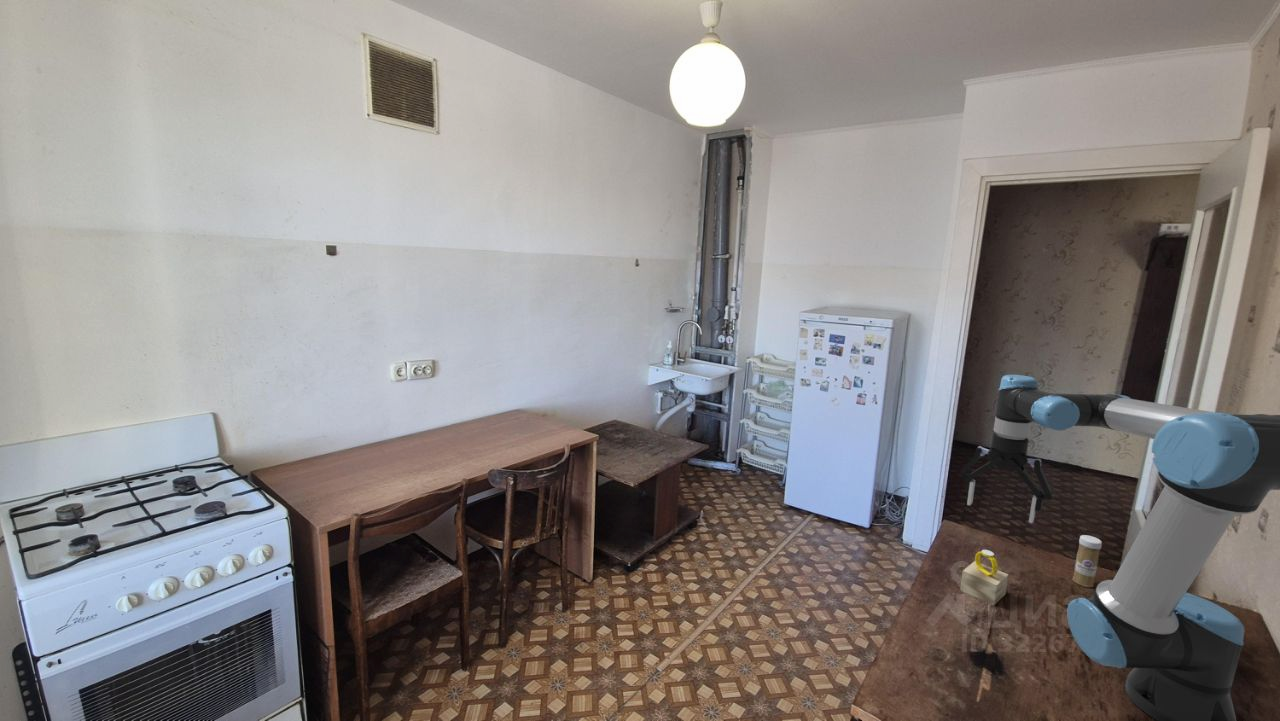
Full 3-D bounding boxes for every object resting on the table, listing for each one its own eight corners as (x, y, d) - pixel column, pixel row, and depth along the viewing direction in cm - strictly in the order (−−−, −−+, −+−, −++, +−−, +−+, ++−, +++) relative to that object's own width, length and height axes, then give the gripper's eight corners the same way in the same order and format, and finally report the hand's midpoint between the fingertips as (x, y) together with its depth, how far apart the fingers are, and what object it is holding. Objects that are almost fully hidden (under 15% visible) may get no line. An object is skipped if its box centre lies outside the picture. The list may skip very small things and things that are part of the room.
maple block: (1005, 594, 137) (1008, 574, 136) (993, 606, 133) (996, 585, 132) (972, 580, 144) (974, 560, 143) (960, 590, 139) (962, 570, 138)
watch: (998, 579, 135) (1002, 559, 133) (989, 580, 134) (993, 560, 133) (979, 564, 141) (983, 545, 139) (971, 565, 140) (974, 546, 139)
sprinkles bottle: (1076, 586, 141) (1084, 541, 139) (1069, 576, 146) (1077, 533, 143) (1097, 589, 140) (1105, 544, 137) (1089, 580, 144) (1097, 536, 142)
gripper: (1075, 443, 126) (1061, 523, 130) (959, 421, 143) (949, 492, 147) (1072, 451, 121) (1057, 534, 124) (951, 427, 138) (942, 501, 141)
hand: (999, 512), depth 136 cm, fingers open, 13 cm apart
